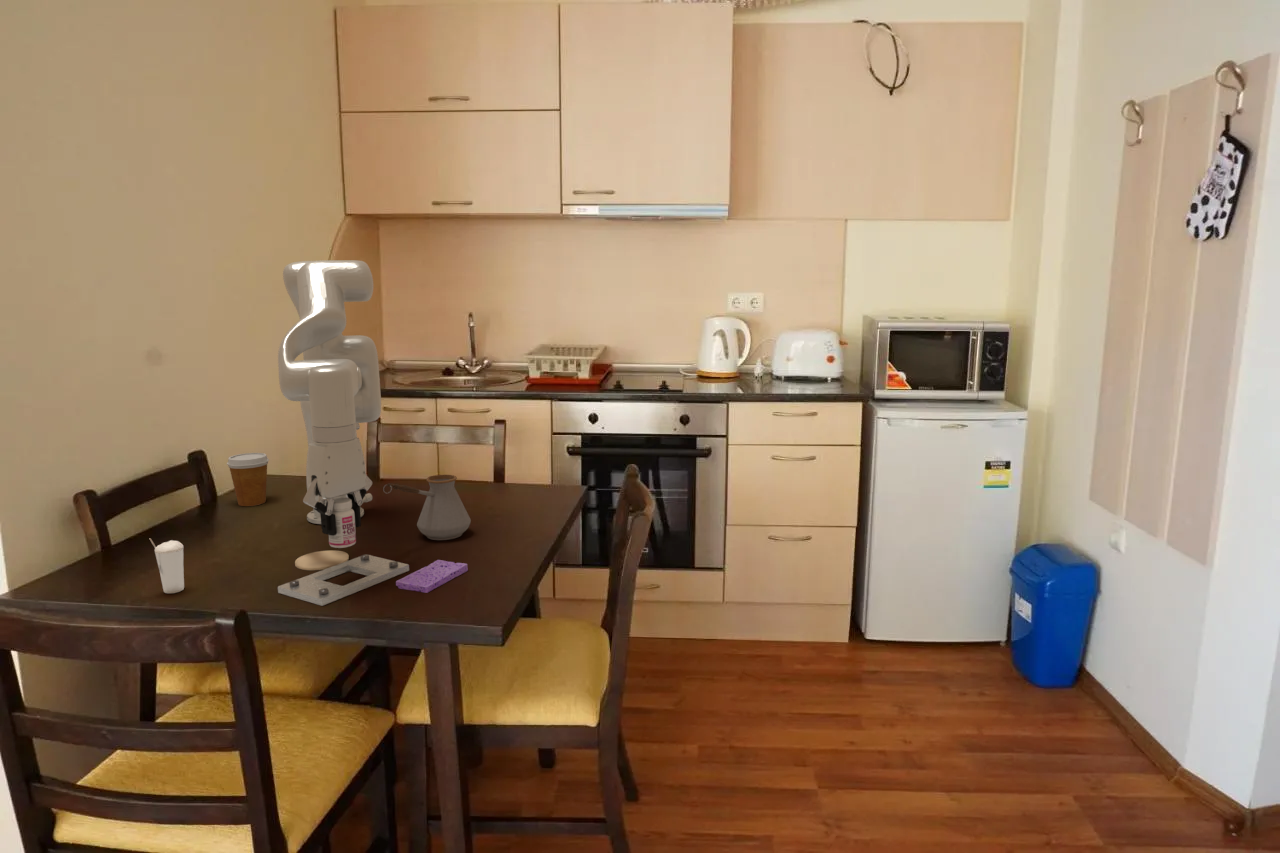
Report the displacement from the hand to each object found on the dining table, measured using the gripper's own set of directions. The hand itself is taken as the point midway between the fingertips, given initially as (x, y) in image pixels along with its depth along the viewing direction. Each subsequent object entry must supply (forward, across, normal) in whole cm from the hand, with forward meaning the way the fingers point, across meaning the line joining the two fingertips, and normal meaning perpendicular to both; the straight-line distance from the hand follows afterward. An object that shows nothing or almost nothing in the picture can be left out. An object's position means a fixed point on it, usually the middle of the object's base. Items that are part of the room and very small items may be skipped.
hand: (341, 528), depth 154 cm
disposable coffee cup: (+12, -24, -64) cm, 70 cm away
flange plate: (+10, 0, +1) cm, 10 cm away
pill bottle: (+3, 0, 0) cm, 3 cm away
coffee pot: (+11, -24, -3) cm, 27 cm away
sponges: (+11, -9, +14) cm, 19 cm away
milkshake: (+10, +20, -23) cm, 32 cm away
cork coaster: (+10, -4, -12) cm, 17 cm away
